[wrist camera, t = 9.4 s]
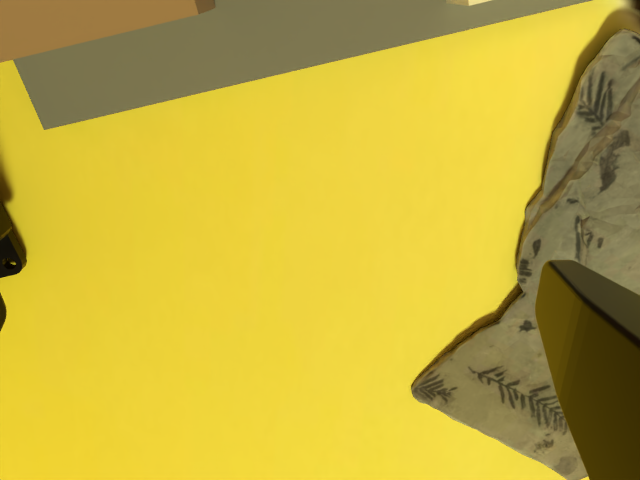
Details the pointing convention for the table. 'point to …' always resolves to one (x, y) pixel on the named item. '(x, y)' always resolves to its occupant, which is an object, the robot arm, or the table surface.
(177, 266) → the table surface
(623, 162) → the fossil rock
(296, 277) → the table surface
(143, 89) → the building board
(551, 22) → the table surface
